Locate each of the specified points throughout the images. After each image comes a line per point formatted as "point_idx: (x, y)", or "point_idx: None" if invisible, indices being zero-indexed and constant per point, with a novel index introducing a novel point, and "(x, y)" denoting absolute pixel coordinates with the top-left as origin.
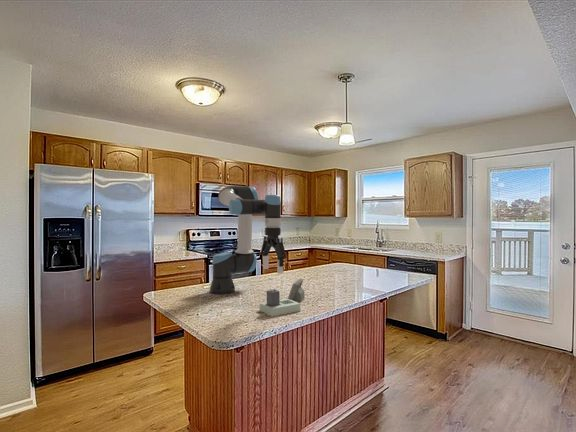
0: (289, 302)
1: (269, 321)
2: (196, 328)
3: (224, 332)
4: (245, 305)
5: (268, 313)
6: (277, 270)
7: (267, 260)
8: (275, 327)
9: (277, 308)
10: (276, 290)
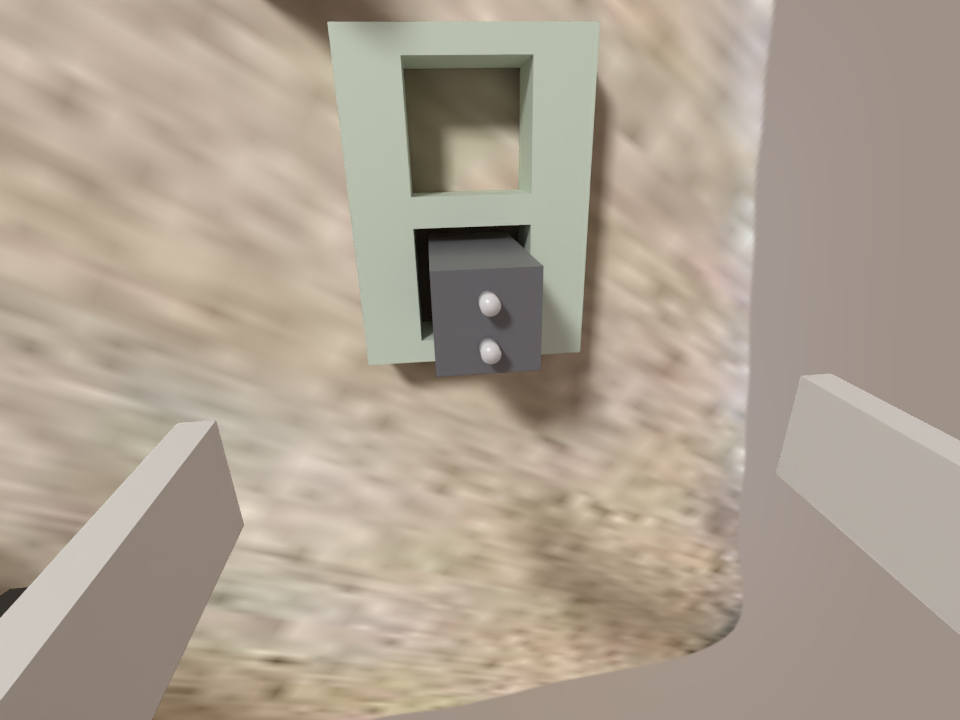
0: (429, 59)
1: (636, 387)
2: (505, 686)
3: (629, 611)
4: (187, 383)
5: None
6: (824, 511)
7: (98, 626)
8: (742, 402)
9: (582, 300)
10: (487, 276)
